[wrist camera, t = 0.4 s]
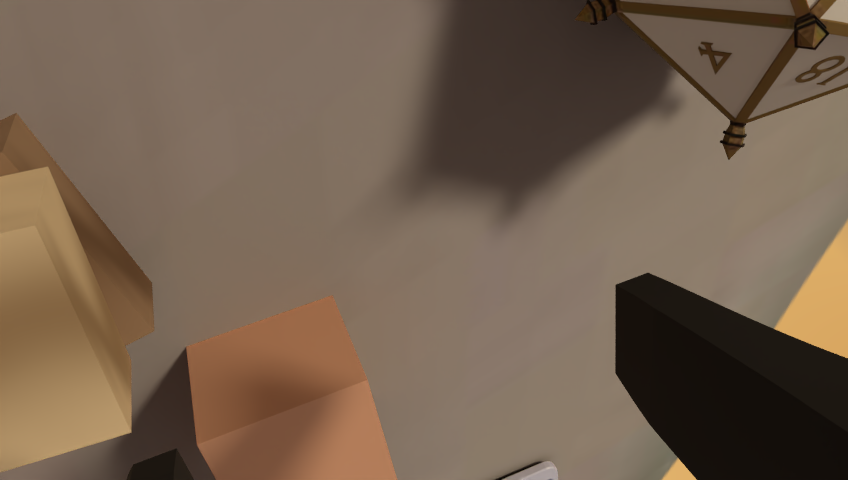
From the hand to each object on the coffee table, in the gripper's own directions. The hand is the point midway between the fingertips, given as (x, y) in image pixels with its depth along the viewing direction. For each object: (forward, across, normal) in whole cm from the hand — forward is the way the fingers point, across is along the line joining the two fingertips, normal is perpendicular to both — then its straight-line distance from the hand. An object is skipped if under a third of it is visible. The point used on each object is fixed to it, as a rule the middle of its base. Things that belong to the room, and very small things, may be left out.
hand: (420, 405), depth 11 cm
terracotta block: (+10, +2, +7) cm, 12 cm away
